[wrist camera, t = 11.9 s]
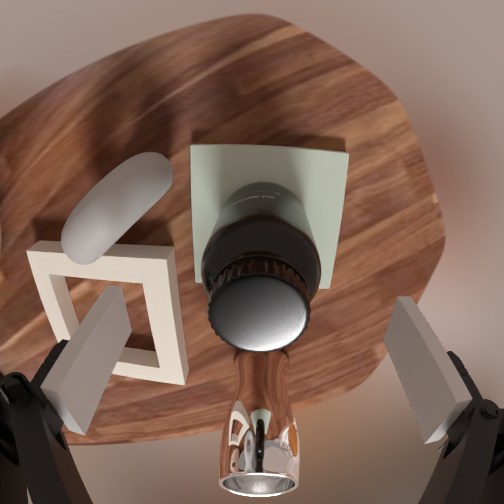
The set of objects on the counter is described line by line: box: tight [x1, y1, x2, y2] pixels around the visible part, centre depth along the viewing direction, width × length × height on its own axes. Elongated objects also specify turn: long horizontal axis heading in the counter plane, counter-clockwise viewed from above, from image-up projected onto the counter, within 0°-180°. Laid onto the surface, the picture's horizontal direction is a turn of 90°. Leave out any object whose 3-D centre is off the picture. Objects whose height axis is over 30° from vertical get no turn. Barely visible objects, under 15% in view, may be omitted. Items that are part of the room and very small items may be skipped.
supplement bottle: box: [201, 182, 321, 353], centre depth 19 cm, size 7×7×12 cm
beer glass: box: [219, 350, 299, 496], centre depth 26 cm, size 7×7×15 cm
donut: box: [61, 152, 174, 265], centre depth 20 cm, size 10×4×10 cm, turn 129°
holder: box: [27, 241, 189, 385], centre depth 29 cm, size 16×16×2 cm
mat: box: [190, 144, 349, 289], centre depth 25 cm, size 12×12×1 cm
